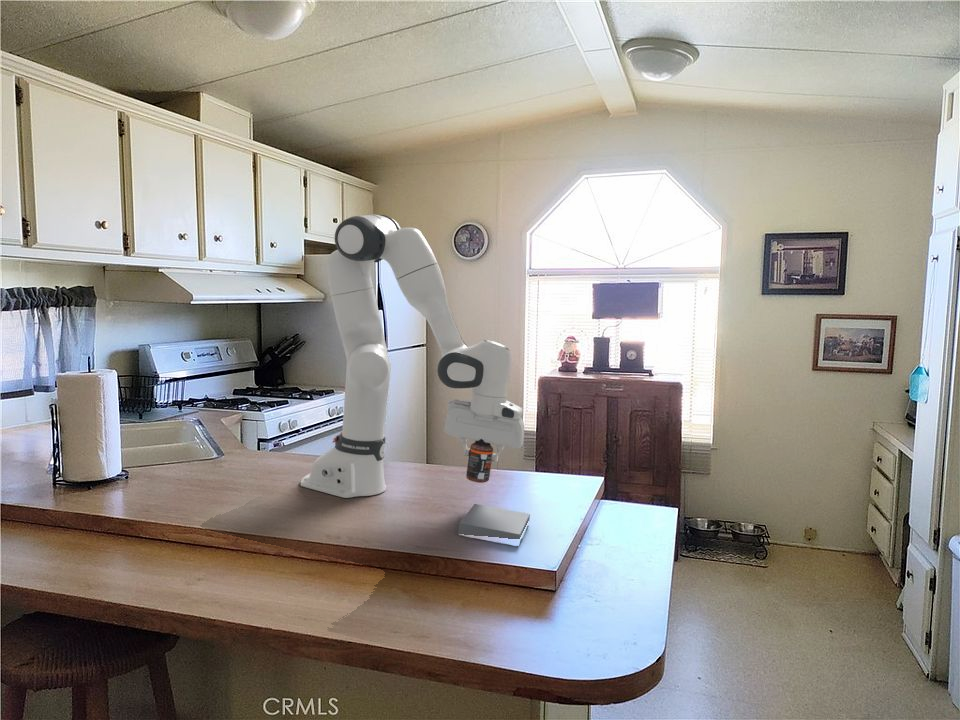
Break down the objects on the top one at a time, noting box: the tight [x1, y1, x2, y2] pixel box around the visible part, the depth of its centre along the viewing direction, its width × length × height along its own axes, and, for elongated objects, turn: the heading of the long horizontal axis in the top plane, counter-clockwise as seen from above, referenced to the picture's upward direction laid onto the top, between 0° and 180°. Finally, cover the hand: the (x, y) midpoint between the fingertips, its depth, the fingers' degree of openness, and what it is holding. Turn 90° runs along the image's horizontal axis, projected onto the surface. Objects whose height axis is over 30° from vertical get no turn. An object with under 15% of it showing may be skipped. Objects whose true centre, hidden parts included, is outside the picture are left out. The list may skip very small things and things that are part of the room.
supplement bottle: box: [465, 439, 494, 484], centre depth 163 cm, size 6×6×11 cm
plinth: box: [457, 503, 531, 539], centre depth 151 cm, size 14×14×3 cm
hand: (480, 458), depth 163 cm, fingers closed on supplement bottle, 6 cm apart
